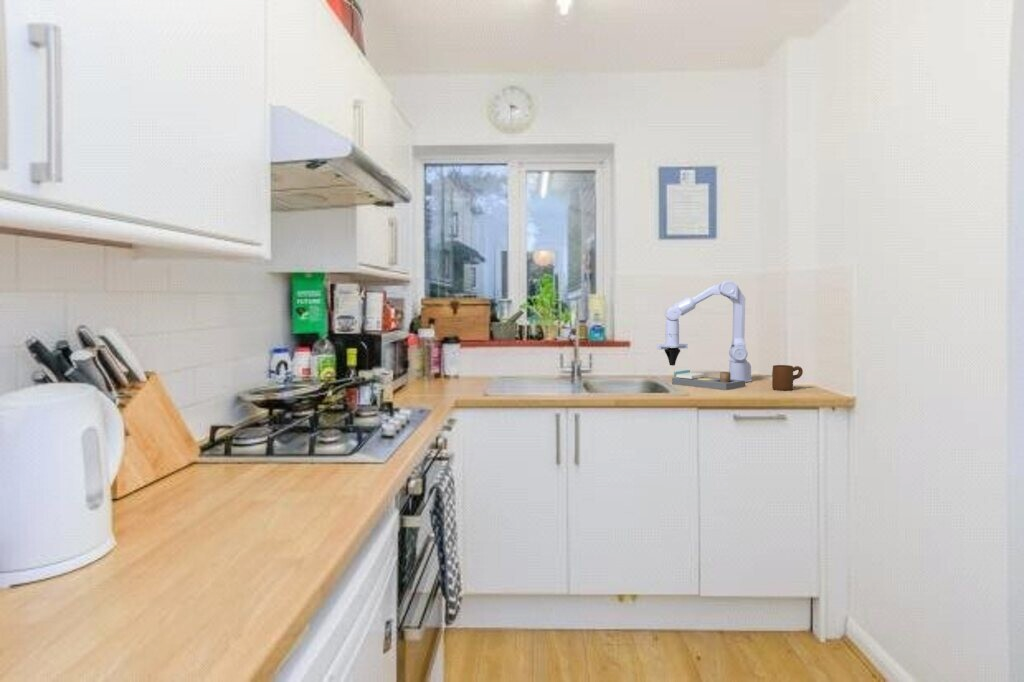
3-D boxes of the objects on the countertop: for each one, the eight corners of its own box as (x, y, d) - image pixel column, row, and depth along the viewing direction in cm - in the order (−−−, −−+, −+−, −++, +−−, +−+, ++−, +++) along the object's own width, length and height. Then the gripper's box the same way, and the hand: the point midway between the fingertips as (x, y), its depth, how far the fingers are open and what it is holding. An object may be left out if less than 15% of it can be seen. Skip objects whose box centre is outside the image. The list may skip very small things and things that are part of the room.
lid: (687, 374, 282) (687, 369, 281) (705, 376, 275) (705, 371, 274) (673, 376, 275) (673, 371, 275) (691, 378, 268) (691, 373, 268)
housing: (691, 380, 283) (691, 375, 282) (745, 386, 263) (745, 380, 262) (672, 383, 274) (672, 377, 274) (726, 390, 254) (726, 383, 254)
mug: (797, 387, 257) (797, 364, 256) (807, 390, 250) (807, 366, 249) (768, 388, 256) (768, 365, 255) (778, 391, 248) (778, 367, 248)
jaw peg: (723, 386, 265) (723, 371, 264) (732, 387, 262) (732, 372, 261) (718, 387, 262) (718, 372, 262) (727, 388, 259) (727, 373, 259)
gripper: (663, 335, 274) (663, 366, 275) (691, 334, 279) (691, 365, 280) (654, 334, 281) (654, 365, 282) (682, 333, 286) (682, 363, 287)
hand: (672, 365), depth 282 cm, fingers closed
